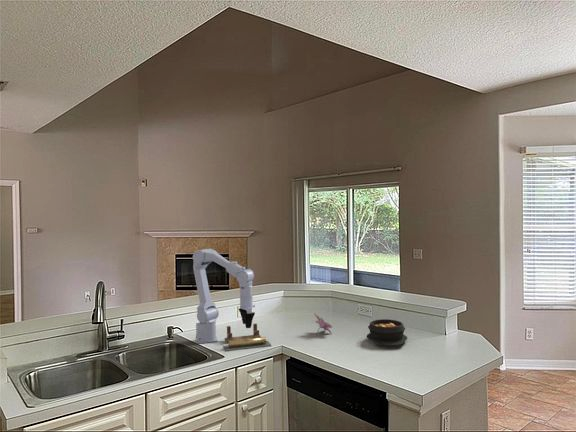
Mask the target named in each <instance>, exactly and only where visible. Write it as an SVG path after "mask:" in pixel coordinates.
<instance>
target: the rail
mask: <svg viewBox="0 0 576 432" xmlns="http://www.w3.org/2000/svg"><path fill="white" fill-rule="evenodd" d="M266 341H267V337H266V336H261V337H260V338H251V339H242V340H232V341H228V344H227V345H229V348H231V347H240V346H249V345H258V344H266Z"/></svg>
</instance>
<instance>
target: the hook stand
mask: <svg viewBox="0 0 576 432" xmlns="http://www.w3.org/2000/svg"><path fill="white" fill-rule="evenodd" d="M252 327H253V329H252V331H253V334H251V335H249V334H247V335H240V336H239V335H238V336H233V332H232V331H231V329H232V328H231V325H227V326H226V337H224V341H225V343H226V345H228V341H232V340H242V339H251V338H260V337H262V336H261V335H260V330H259V329H258V323H252Z"/></svg>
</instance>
